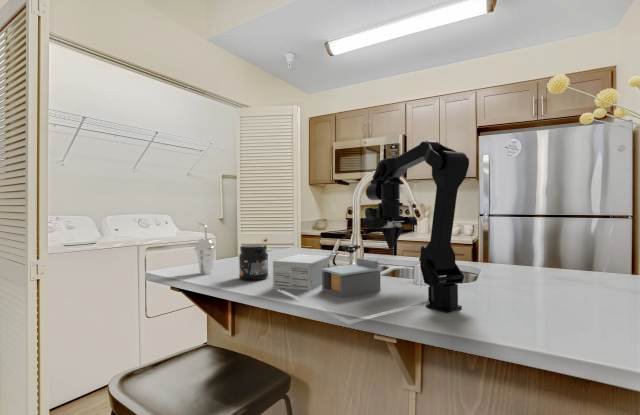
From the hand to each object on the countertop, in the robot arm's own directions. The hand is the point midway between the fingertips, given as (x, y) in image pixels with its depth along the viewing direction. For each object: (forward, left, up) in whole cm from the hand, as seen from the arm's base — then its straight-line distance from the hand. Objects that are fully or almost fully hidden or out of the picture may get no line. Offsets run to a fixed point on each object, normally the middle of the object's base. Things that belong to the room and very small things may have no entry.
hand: (391, 249), depth 106 cm
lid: (+3, +14, -6) cm, 15 cm away
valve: (+18, +2, -13) cm, 22 cm away
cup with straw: (+60, +42, -13) cm, 74 cm away
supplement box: (+20, +21, -13) cm, 32 cm away
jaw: (+3, +17, -12) cm, 21 cm away
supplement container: (+40, +30, -13) cm, 51 cm away
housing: (+3, +14, -12) cm, 19 cm away
